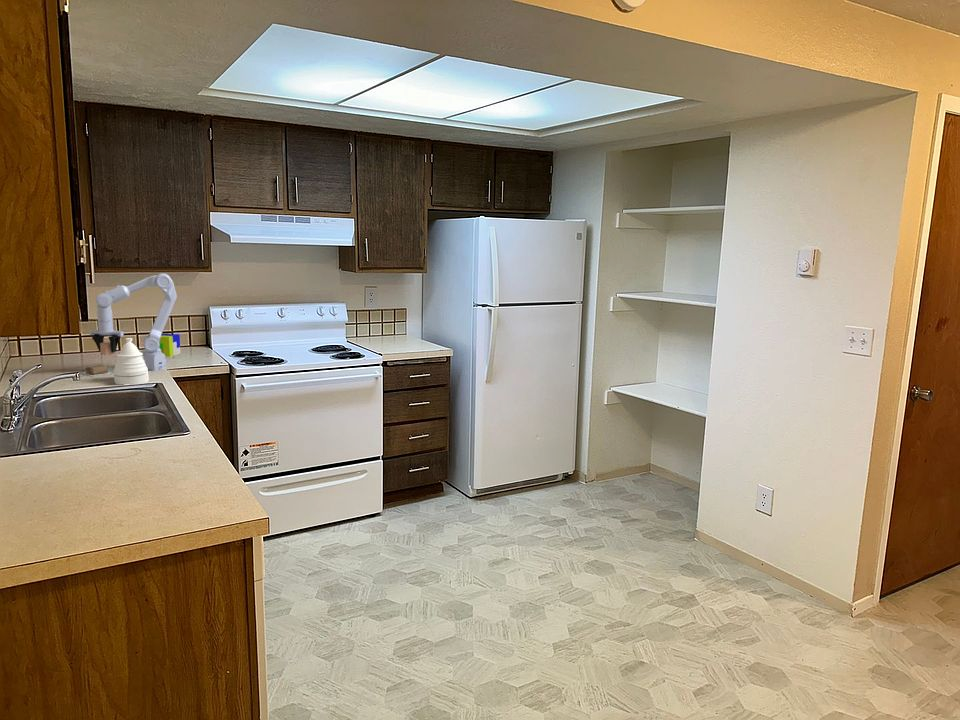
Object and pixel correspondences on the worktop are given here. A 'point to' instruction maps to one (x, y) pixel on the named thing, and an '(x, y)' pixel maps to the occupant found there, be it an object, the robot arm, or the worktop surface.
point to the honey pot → (130, 365)
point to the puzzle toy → (170, 344)
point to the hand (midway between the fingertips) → (107, 351)
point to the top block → (106, 348)
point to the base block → (96, 369)
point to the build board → (110, 371)
